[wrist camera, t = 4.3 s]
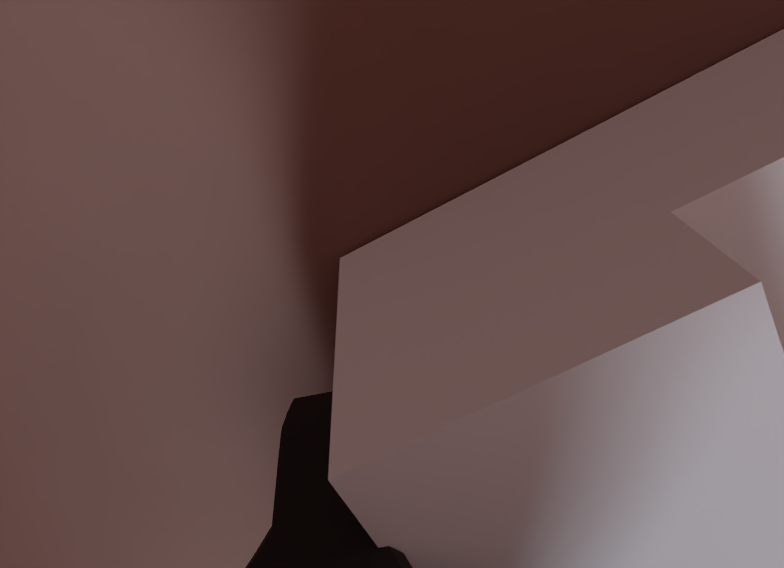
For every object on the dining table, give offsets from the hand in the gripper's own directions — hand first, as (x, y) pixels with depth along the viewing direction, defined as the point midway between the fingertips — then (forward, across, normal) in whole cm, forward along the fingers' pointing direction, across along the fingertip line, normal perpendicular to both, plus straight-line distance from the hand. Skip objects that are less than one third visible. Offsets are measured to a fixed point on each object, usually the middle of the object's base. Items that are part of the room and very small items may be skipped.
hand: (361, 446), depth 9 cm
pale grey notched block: (+1, -4, -1) cm, 5 cm away
